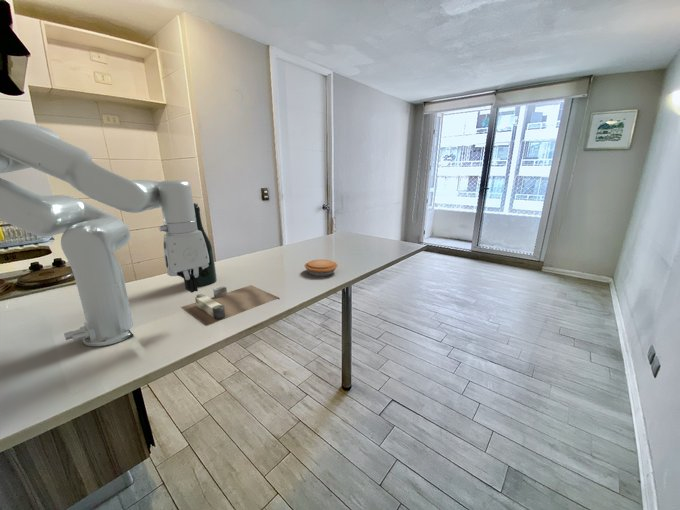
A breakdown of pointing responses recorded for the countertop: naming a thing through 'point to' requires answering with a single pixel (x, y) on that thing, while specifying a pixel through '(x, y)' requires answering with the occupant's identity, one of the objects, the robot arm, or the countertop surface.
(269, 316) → the countertop surface
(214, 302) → the folding leg
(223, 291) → the brown wooden flat board
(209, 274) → the green wine bottle
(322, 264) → the pie
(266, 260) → the countertop surface
